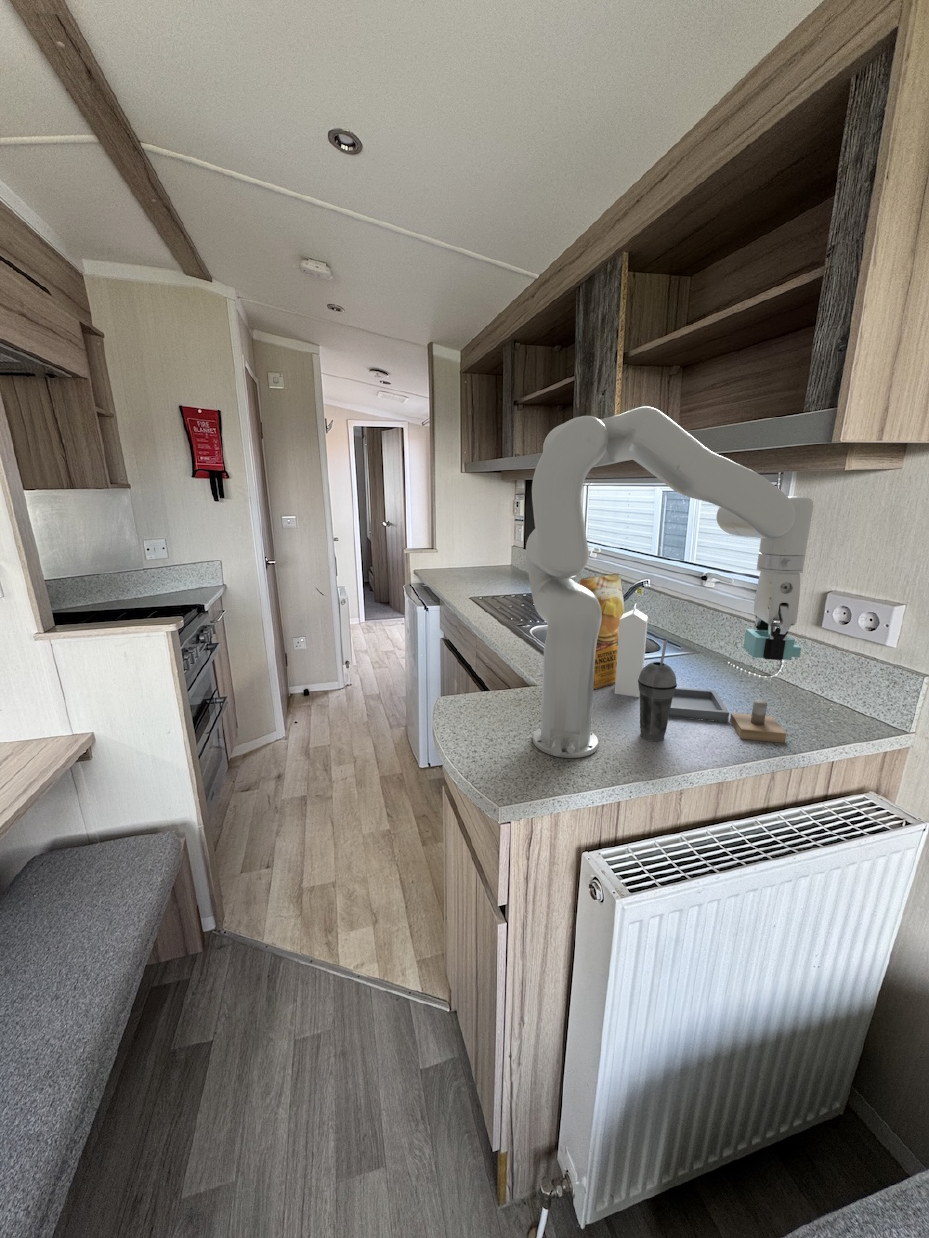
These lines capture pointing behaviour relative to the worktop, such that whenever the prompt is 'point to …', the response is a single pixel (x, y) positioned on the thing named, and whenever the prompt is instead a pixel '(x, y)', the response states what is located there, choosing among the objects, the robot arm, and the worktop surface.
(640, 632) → the milk
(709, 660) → the worktop surface
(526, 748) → the worktop surface
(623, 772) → the worktop surface
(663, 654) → the beverage cup
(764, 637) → the collar
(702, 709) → the tray
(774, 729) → the wooden peg base
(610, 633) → the pancake mix bag
